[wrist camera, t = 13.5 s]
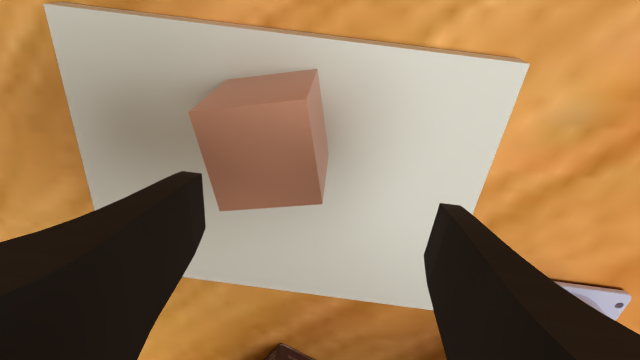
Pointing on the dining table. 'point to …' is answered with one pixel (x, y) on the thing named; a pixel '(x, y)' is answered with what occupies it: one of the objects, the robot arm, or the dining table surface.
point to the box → (286, 354)
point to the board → (341, 131)
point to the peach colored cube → (264, 141)
